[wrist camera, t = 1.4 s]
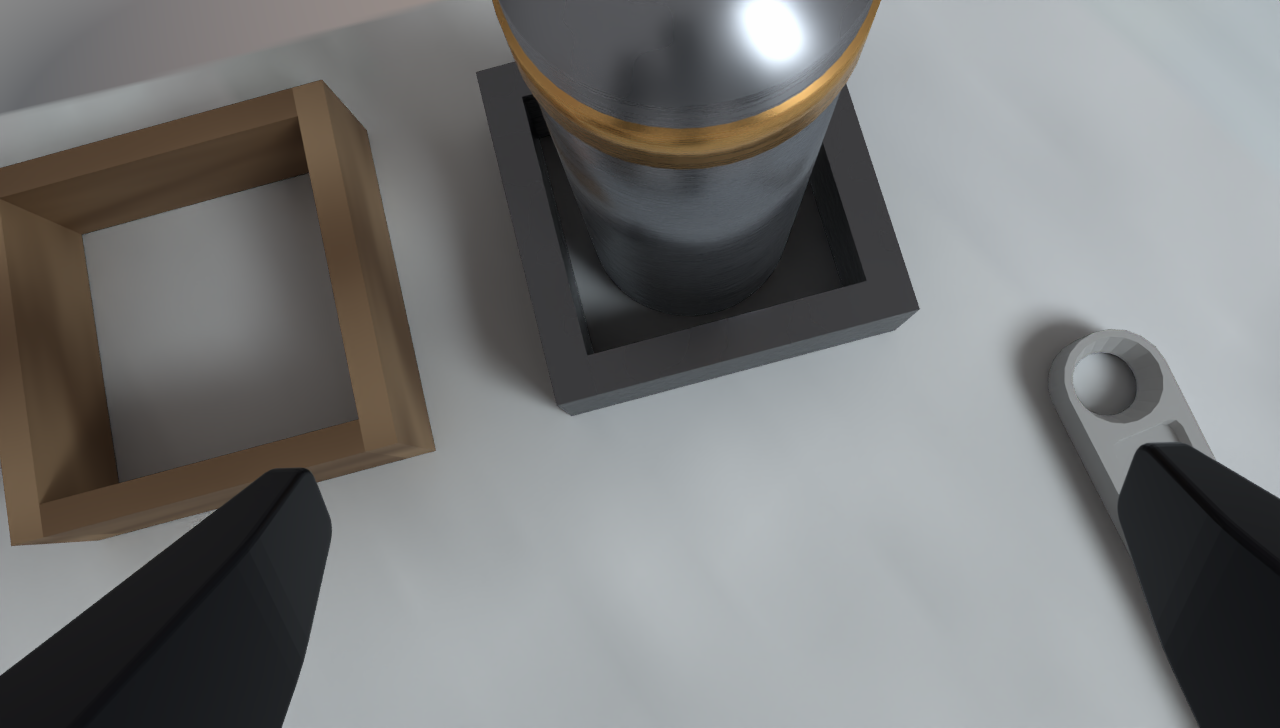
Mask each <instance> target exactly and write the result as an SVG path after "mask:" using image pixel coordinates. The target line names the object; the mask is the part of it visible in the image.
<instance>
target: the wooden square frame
mask: <svg viewBox="0 0 1280 728" xmlns="http://www.w3.org/2000/svg"><path fill="white" fill-rule="evenodd" d="M305 173H309V174H310V179H311V184H312V189H313V194H314V199H315V204H316V209H317V214H318V219H319V224H320V229H321V234H322V239H323V244H324V249H325V254H326V259H327V264H328V269H329V274H330V279H331V284H332V289H333V294H334V299H335V304H336V309H337V314H338V319H339V324H340V328H341V333H342V338H343V343H344V348H345V353H346V358H347V363H348V368H349V373H350V378H351V383H352V388H353V393H354V398H355V403H356V408H357V413H358V418H359V419H358V420H354V421H350V422H346V423H343V424H339V425H335V426H331V427H328V428H324V429H320V430H316V431H313V432H309V433H305V434H302V435H298V436H294V437H290V438H287V439H283V440H279V441H275V442H272V443H268V444H264V445H260V446H257V447H253V448H249V449H245V450H242V451H238V452H234V453H230V454H227V455H223V456H219V457H215V458H212V459H208V460H204V461H200V462H197V463H193V464H189V465H185V466H182V467H178V468H174V469H170V470H167V471H163V472H159V473H155V474H152V475H148V476H144V477H140V478H137V479H133V480H129V481H125V482H122V483H119V481H118V474H117V468H116V461H115V454H114V448H113V441H112V434H111V427H110V421H109V414H108V407H107V401H106V394H105V387H104V381H103V374H102V367H101V360H100V354H99V347H98V340H97V334H96V327H95V320H94V313H93V307H92V300H91V293H90V287H89V280H88V273H87V266H86V260H85V253H84V246H83V240H82V234H86V233H89V232H93V231H97V230H100V229H104V228H108V227H111V226H115V225H119V224H122V223H126V222H130V221H133V220H137V219H141V218H144V217H148V216H152V215H155V214H159V213H162V212H166V211H170V210H173V209H177V208H181V207H184V206H188V205H192V204H195V203H199V202H203V201H206V200H210V199H214V198H217V197H221V196H225V195H228V194H232V193H236V192H239V191H243V190H247V189H250V188H254V187H258V186H261V185H265V184H269V183H272V182H276V181H280V180H283V179H287V178H291V177H294V176H298V175H302V174H305ZM433 451H436V449H435V445H434V440H433V436H432V431H431V426H430V422H429V417H428V412H427V408H426V403H425V398H424V394H423V389H422V385H421V380H420V375H419V371H418V366H417V361H416V357H415V352H414V348H413V343H412V338H411V334H410V329H409V324H408V320H407V315H406V310H405V306H404V301H403V297H402V292H401V287H400V283H399V278H398V273H397V269H396V264H395V260H394V255H393V250H392V246H391V241H390V236H389V232H388V227H387V222H386V218H385V213H384V209H383V204H382V199H381V195H380V190H379V185H378V181H377V176H376V171H375V167H374V162H373V158H372V153H371V148H370V144H369V139H368V134H367V130H366V129H365V128H364V127H363V126H362V124H361V123H360V122H359V121H358V120H357V119H356V118H355V116H354V115H353V114H352V113H351V112H350V111H349V110H348V109H347V107H346V106H345V105H344V104H343V103H342V102H341V101H340V99H339V98H338V97H337V96H336V95H335V94H334V93H333V91H332V90H331V89H330V88H329V87H328V86H327V85H326V84H325V82H324V81H323V80H319V81H315V82H311V83H308V84H304V85H301V86H297V87H293V88H290V89H286V90H282V91H279V92H275V93H271V94H268V95H264V96H261V97H257V98H253V99H250V100H246V101H242V102H239V103H235V104H232V105H228V106H224V107H221V108H217V109H213V110H210V111H206V112H202V113H199V114H195V115H192V116H188V117H184V118H181V119H177V120H173V121H170V122H166V123H162V124H159V125H155V126H152V127H148V128H144V129H141V130H137V131H133V132H130V133H126V134H122V135H119V136H115V137H112V138H108V139H104V140H101V141H97V142H93V143H90V144H86V145H83V146H79V147H75V148H72V149H68V150H64V151H61V152H57V153H53V154H50V155H46V156H43V157H39V158H35V159H32V160H28V161H24V162H21V163H17V164H13V165H10V166H6V167H3V168H0V459H1V467H2V475H3V483H4V491H5V499H6V507H7V515H8V523H9V531H10V539H11V546H19V545H35V544H50V543H65V542H81V541H96V540H102V539H105V538H109V537H113V536H117V535H120V534H124V533H128V532H132V531H135V530H139V529H143V528H147V527H150V526H154V525H158V524H162V523H166V522H169V521H173V520H177V519H181V518H184V517H188V516H192V515H196V514H199V513H203V512H207V511H211V510H214V509H218V508H220V507H221V506H222V505H224V504H225V503H226V502H228V501H229V500H230V499H231V498H233V497H234V496H235V495H237V494H238V493H239V492H241V491H242V490H243V489H245V488H246V487H247V486H248V485H250V484H251V483H252V482H254V481H255V480H256V479H258V478H259V477H260V476H261V475H263V474H264V473H266V472H267V471H269V470H271V469H275V468H297V467H302V468H306V469H308V470H310V471H311V473H312V474H313V476H314V478H315V480H316V482H320V481H324V480H327V479H331V478H335V477H339V476H342V475H346V474H350V473H354V472H357V471H361V470H365V469H369V468H372V467H376V466H380V465H384V464H388V463H391V462H395V461H399V460H403V459H406V458H410V457H414V456H418V455H421V454H425V453H429V452H433Z"/></svg>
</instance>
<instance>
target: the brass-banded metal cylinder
mask: <svg viewBox="0 0 1280 728" xmlns="http://www.w3.org/2000/svg"><path fill="white" fill-rule="evenodd" d="M492 1H493V5H494V8H495V12H496V15H497V18H498V20H499V23H500V25H501V28H502V30H503V32H504V35H505V37H506V40H507V42H508V45H509V47H510V50H511V52H512V55H513V57H514V60H515V62H516V64H517V66H518V69H519V71H520V73H521V75H522V78H523V79H524V81H525V83H526V84H527V86H528V88H529V89H530V91H531V92H532V94H533V96H534V97H535V98H536V100H537V101H538V104H539V106H540V109H541V111H542V114H543V116H544V119H545V122H546V124H547V127H548V129H549V132H550V134H551V137H552V140H553V142H554V145H555V147H556V150H557V152H558V155H559V158H560V160H561V163H562V165H563V168H564V170H565V173H566V176H567V178H568V181H569V183H570V186H571V188H572V191H573V194H574V196H575V199H576V201H577V204H578V206H579V209H580V211H581V214H582V217H583V219H584V222H585V224H586V227H587V229H588V232H589V235H590V237H591V240H592V242H593V245H594V247H595V250H596V253H597V255H598V257H599V259H600V262H601V264H602V266H603V267H604V269H605V271H606V272H607V274H608V275H609V277H610V278H611V279H612V280H613V281H614V283H615V284H616V285H617V286H618V287H619V288H620V289H621V290H622V291H623V292H625V293H626V294H627V295H628V296H630V297H631V298H633V299H634V300H635V301H637V302H639V303H641V304H643V305H645V306H647V307H649V308H652V309H654V310H657V311H660V312H664V313H669V314H674V315H684V316H688V315H703V314H709V313H714V312H717V311H721V310H724V309H726V308H729V307H731V306H733V305H735V304H737V303H739V302H741V301H742V300H744V299H746V298H747V297H749V296H750V295H751V294H752V293H754V292H755V291H756V290H757V289H758V288H759V287H760V286H761V285H762V284H763V283H764V282H765V281H766V280H767V279H768V277H769V276H770V275H771V273H772V272H773V271H774V269H775V267H776V265H777V264H778V262H779V260H780V258H781V255H782V253H783V250H784V248H785V245H786V242H787V239H788V237H789V234H790V231H791V228H792V225H793V223H794V220H795V217H796V214H797V211H798V209H799V206H800V203H801V200H802V198H803V195H804V192H805V189H806V186H807V184H808V181H809V178H810V175H811V172H812V170H813V167H814V164H815V161H816V158H817V156H818V153H819V150H820V147H821V145H822V142H823V139H824V136H825V133H826V131H827V128H828V125H829V122H830V119H831V117H832V114H833V111H834V108H835V106H836V103H837V100H838V97H839V94H840V92H841V90H842V88H843V87H844V86H845V84H846V83H847V81H848V79H849V77H850V75H851V74H852V72H853V70H854V68H855V66H856V65H857V62H858V60H859V57H860V55H861V52H862V49H863V47H864V44H865V42H866V39H867V36H868V33H869V31H870V28H871V25H872V23H873V20H874V17H875V15H876V12H877V9H878V7H879V4H880V1H881V0H492Z"/></svg>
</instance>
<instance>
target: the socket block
mask: <svg viewBox="0 0 1280 728" xmlns="http://www.w3.org/2000/svg"><path fill="white" fill-rule="evenodd" d="M476 74H477V79H478V83H479V87H480V91H481V95H482V99H483V103H484V107H485V111H486V116H487V120H488V124H489V128H490V132H491V136H492V140H493V144H494V148H495V153H496V157H497V161H498V165H499V169H500V173H501V177H502V181H503V185H504V190H505V194H506V198H507V202H508V206H509V210H510V214H511V218H512V222H513V227H514V231H515V235H516V239H517V243H518V247H519V251H520V255H521V259H522V264H523V268H524V272H525V276H526V280H527V284H528V288H529V292H530V296H531V301H532V305H533V309H534V313H535V317H536V321H537V325H538V329H539V333H540V337H541V342H542V346H543V350H544V354H545V358H546V362H547V366H548V370H549V374H550V379H551V383H552V387H553V391H554V395H555V399H556V403H557V406H558V407H560V408H561V409H563V410H564V411H565V412H567V413H568V414H570V415H571V416H574V415H577V414H581V413H585V412H589V411H592V410H596V409H600V408H604V407H607V406H611V405H615V404H619V403H623V402H626V401H630V400H634V399H638V398H641V397H645V396H649V395H653V394H656V393H660V392H664V391H668V390H671V389H675V388H679V387H683V386H687V385H690V384H694V383H698V382H702V381H705V380H709V379H713V378H717V377H720V376H724V375H728V374H732V373H735V372H739V371H743V370H747V369H750V368H754V367H758V366H762V365H766V364H769V363H773V362H777V361H781V360H784V359H788V358H792V357H796V356H799V355H803V354H807V353H811V352H814V351H818V350H822V349H826V348H830V347H833V346H837V345H841V344H845V343H848V342H852V341H856V340H860V339H863V338H867V337H871V336H875V335H878V334H882V333H886V332H890V331H893V330H896V329H897V328H898V327H899V326H901V325H902V324H903V323H904V322H905V321H906V320H908V319H909V318H910V317H911V316H912V315H913V314H915V313H916V312H917V311H918V310H919V306H918V303H917V300H916V296H915V293H914V290H913V287H912V284H911V281H910V278H909V275H908V272H907V269H906V266H905V263H904V260H903V257H902V253H901V250H900V247H899V244H898V241H897V238H896V235H895V232H894V229H893V226H892V223H891V220H890V217H889V214H888V211H887V207H886V204H885V201H884V198H883V195H882V192H881V189H880V186H879V183H878V180H877V177H876V174H875V171H874V168H873V164H872V161H871V158H870V155H869V152H868V149H867V146H866V143H865V140H864V137H863V134H862V131H861V128H860V125H859V122H858V118H857V115H856V112H855V109H854V106H853V103H852V100H851V97H850V94H849V91H848V88H847V85H846V84H845V86H844V87H843V88H842V90H841V92H840V94H839V97H838V100H837V103H836V106H835V108H834V111H833V114H832V117H831V119H830V122H829V125H828V128H827V131H826V133H825V136H824V139H823V142H822V145H821V147H820V150H819V153H818V156H817V158H816V161H815V164H814V167H813V170H812V172H811V175H810V178H809V180H810V184H811V187H812V190H813V193H814V197H815V200H816V203H817V206H818V209H819V213H820V216H821V219H822V222H823V225H824V229H825V232H826V235H827V238H828V242H829V245H830V248H831V251H832V254H833V258H834V261H835V264H836V267H837V271H838V274H839V277H840V280H841V283H842V288H838V289H835V290H831V291H827V292H823V293H820V294H816V295H812V296H808V297H805V298H801V299H797V300H793V301H790V302H786V303H782V304H778V305H775V306H771V307H767V308H763V309H760V310H756V311H752V312H749V313H745V314H741V315H737V316H734V317H730V318H726V319H722V320H719V321H715V322H711V323H707V324H704V325H700V326H696V327H692V328H689V329H685V330H681V331H677V332H674V333H670V334H666V335H662V336H659V337H655V338H651V339H647V340H644V341H640V342H636V343H632V344H629V345H625V346H621V347H617V348H614V349H610V350H606V351H602V352H599V353H595V354H594V352H593V348H592V344H591V340H590V336H589V332H588V328H587V324H586V320H585V316H584V312H583V308H582V304H581V300H580V296H579V293H578V289H577V285H576V281H575V277H574V273H573V269H572V265H571V261H570V257H569V253H568V249H567V245H566V241H565V237H564V233H563V229H562V226H561V222H560V218H559V214H558V210H557V206H556V202H555V198H554V194H553V190H552V186H551V182H550V178H549V174H548V170H547V166H546V162H545V159H544V155H543V151H542V147H541V143H540V139H539V138H541V137H544V136H548V135H551V134H550V132H549V129H548V127H547V124H546V122H545V119H544V116H543V114H542V111H541V109H540V106H539V104H538V101H537V100H536V98H535V97H534V96H533V94H532V92H531V91H530V89H529V88H528V86H527V84H526V83H525V81H524V79H523V78H522V75H521V73H520V71H519V69H518V66H517V64H516V62H512V63H508V64H504V65H501V66H497V67H493V68H490V69H486V70H482V71H479V72H476Z"/></svg>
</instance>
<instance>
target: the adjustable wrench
mask: <svg viewBox="0 0 1280 728" xmlns="http://www.w3.org/2000/svg"><path fill="white" fill-rule="evenodd" d="M1099 352H1101V353H1111V354H1113V355H1116V356H1118V357H1119V358H1121V359H1122V360H1123V361H1125V362H1126V363H1127V365H1128V366H1129V368H1130V369H1131V370H1132V372H1133V374H1134V377H1135V380H1136V397H1135V400H1134V402H1133V403H1132V404H1131V405H1130V407H1129V408H1128V409H1126V410H1124V411H1123V412H1121V413H1119V414H1115V415H1110V416H1109V415H1099V414H1096V413H1094V412H1091V411H1089V410H1088V409H1086V408H1085V407H1084V406H1083V404H1082V403H1081V401H1080V400H1079V399H1078V397H1077V395H1076V392H1075V389H1074V386H1073V372H1074V369H1075V367H1076V366H1077V364H1078V363H1079V362H1080V361H1081V360H1082V359H1083V358H1085V357H1087V356H1088V355H1090V354H1095V353H1099ZM1048 390H1049V393H1050V396H1051V399H1052V403H1053V405H1054V407H1055V409H1056V411H1057V413H1058V415H1059V417H1060V419H1061V421H1062V423H1063V425H1064V427H1065V429H1066V431H1067V433H1068V435H1069V437H1070V439H1071V441H1072V443H1073V445H1074V447H1075V449H1076V451H1077V453H1078V455H1079V457H1080V458H1081V460H1082V462H1083V464H1084V466H1085V468H1086V470H1087V472H1088V474H1089V476H1090V478H1091V480H1092V482H1093V484H1094V486H1095V488H1096V490H1097V492H1098V494H1099V496H1100V498H1101V500H1102V502H1103V504H1104V506H1105V508H1106V510H1107V512H1108V514H1109V516H1110V518H1111V520H1112V522H1113V524H1114V526H1115V528H1116V530H1117V532H1118V534H1119V536H1120V537H1121V539H1122V541H1123V543H1124V545H1125V547H1126V549H1127V551H1128V553H1129V555H1130V552H1129V549H1128V546H1127V543H1126V540H1125V537H1124V534H1123V531H1122V528H1121V525H1120V522H1119V518H1118V513H1117V502H1118V497H1119V494H1120V491H1121V488H1122V486H1123V483H1124V480H1125V478H1126V475H1127V472H1128V469H1129V467H1130V464H1131V461H1132V459H1133V456H1134V454H1135V452H1136V450H1137V449H1138V448H1139V447H1140V446H1141V445H1142V444H1145V443H1152V442H1182V443H1186V444H1188V445H1190V446H1192V447H1193V448H1195V449H1197V450H1199V451H1200V452H1202V453H1204V454H1205V455H1207V456H1209V457H1210V458H1212V459H1214V460H1215V461H1216V459H1215V457H1214V455H1213V453H1212V451H1211V449H1210V447H1209V445H1208V443H1207V441H1206V439H1205V437H1204V435H1203V433H1202V431H1201V429H1200V427H1199V425H1198V423H1197V421H1196V419H1195V417H1194V415H1193V413H1192V411H1191V409H1190V408H1189V406H1188V404H1187V402H1186V400H1185V398H1184V396H1183V394H1182V392H1181V390H1180V388H1179V386H1178V384H1177V382H1176V380H1175V378H1174V376H1173V374H1172V372H1171V370H1170V368H1169V366H1168V364H1167V362H1166V360H1165V359H1164V357H1163V356H1162V355H1161V353H1160V352H1159V350H1158V349H1157V348H1156V346H1154V345H1153V344H1152V343H1150V342H1149V341H1148V340H1146V339H1145V338H1143V337H1142V336H1140V335H1137V334H1134V333H1132V332H1129V331H1126V330H1115V329H1108V330H1103V331H1099V332H1095V333H1092V334H1090V335H1087V336H1085V337H1083V338H1081V339H1078V340H1076V341H1074V342H1073V343H1071V344H1070V345H1068V346H1066V347H1065V348H1063V349H1062V350H1061V352H1060V353H1059V354H1058V355H1057V357H1056V358H1055V359H1054V360H1053V363H1052V366H1051V369H1050V371H1049V376H1048ZM1130 557H1131V555H1130ZM1131 559H1132V558H1131Z"/></svg>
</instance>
